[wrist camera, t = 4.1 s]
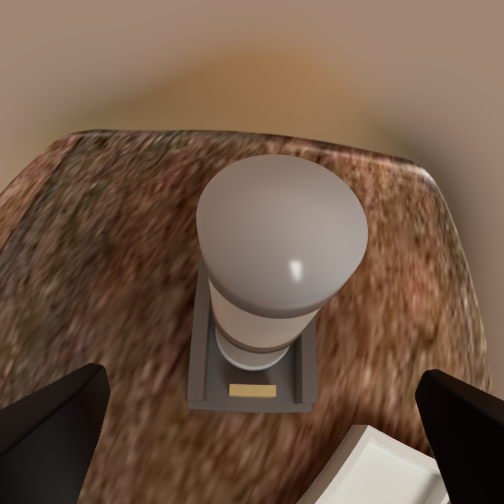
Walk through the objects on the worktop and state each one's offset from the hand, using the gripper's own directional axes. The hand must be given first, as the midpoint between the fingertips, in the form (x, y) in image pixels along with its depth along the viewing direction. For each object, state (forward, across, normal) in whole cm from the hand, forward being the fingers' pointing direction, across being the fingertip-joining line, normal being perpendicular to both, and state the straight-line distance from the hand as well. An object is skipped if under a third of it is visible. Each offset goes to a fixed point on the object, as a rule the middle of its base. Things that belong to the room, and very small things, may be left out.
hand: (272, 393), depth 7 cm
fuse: (+10, 0, +4) cm, 10 cm away
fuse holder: (+10, 0, +5) cm, 12 cm away
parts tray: (+1, -7, +14) cm, 16 cm away
